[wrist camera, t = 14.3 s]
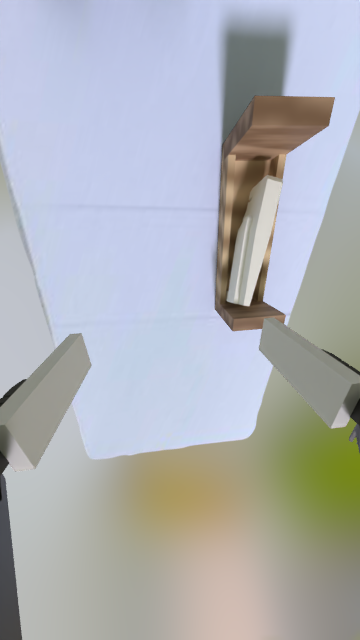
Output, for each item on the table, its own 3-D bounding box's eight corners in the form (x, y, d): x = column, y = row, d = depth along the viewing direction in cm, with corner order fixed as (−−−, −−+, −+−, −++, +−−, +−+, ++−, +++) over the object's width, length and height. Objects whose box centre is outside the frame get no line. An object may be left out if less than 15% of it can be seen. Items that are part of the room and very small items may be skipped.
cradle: (222, 145, 37) (254, 95, 24) (276, 144, 38) (334, 97, 25) (215, 309, 53) (232, 331, 40) (253, 306, 53) (283, 326, 41)
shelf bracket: (215, 298, 50) (234, 304, 38) (234, 200, 45) (263, 171, 33) (233, 301, 51) (257, 307, 39) (253, 205, 46) (289, 179, 34)
